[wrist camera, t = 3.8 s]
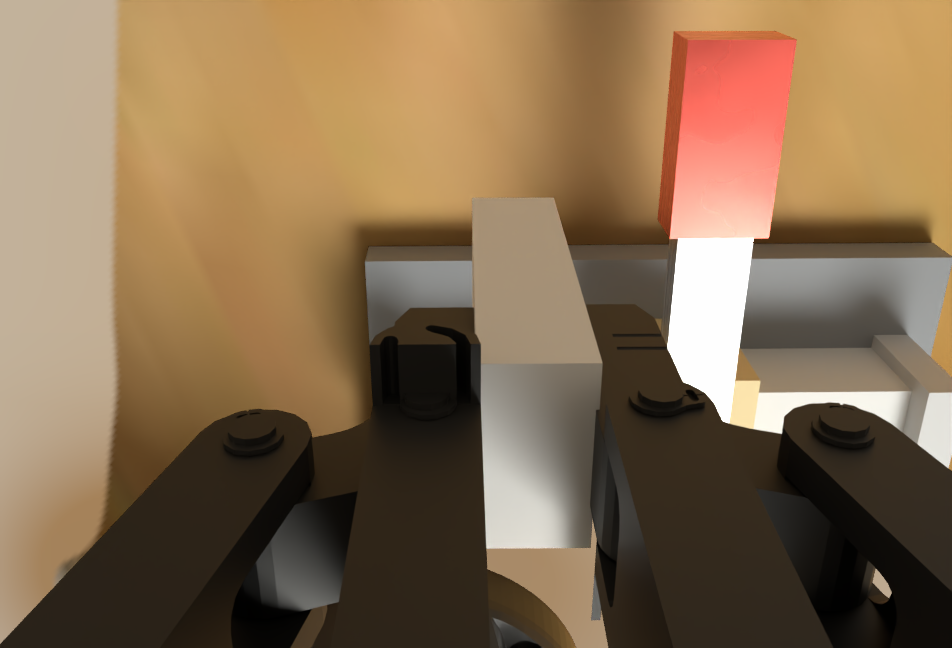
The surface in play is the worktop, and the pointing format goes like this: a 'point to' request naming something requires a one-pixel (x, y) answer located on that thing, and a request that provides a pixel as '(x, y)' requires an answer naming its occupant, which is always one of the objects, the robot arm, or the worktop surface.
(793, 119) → the worktop surface
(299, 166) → the worktop surface
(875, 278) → the valve board
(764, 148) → the lever
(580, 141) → the worktop surface
